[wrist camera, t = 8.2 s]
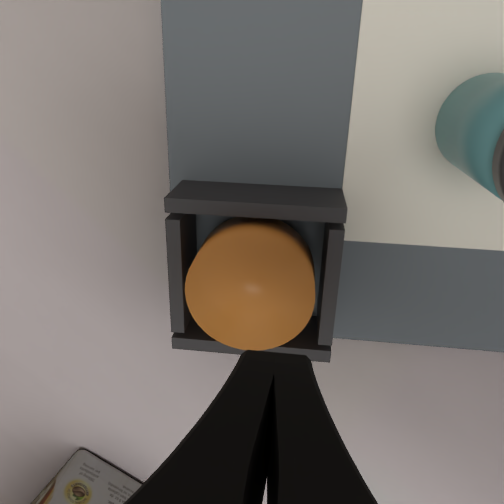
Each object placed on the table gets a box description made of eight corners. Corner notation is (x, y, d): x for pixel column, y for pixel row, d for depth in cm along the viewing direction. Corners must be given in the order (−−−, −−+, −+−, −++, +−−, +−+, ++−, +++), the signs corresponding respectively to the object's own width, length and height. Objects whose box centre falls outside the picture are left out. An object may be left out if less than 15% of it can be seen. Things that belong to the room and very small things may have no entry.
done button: (319, 218, 16) (320, 239, 14) (309, 324, 18) (309, 356, 16) (196, 210, 16) (182, 230, 14) (199, 316, 18) (186, 345, 16)
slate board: (846, -47, 13) (991, -74, 10) (657, 357, 18) (718, 409, 16) (163, -52, 15) (131, -76, 12) (180, 317, 20) (160, 357, 18)
